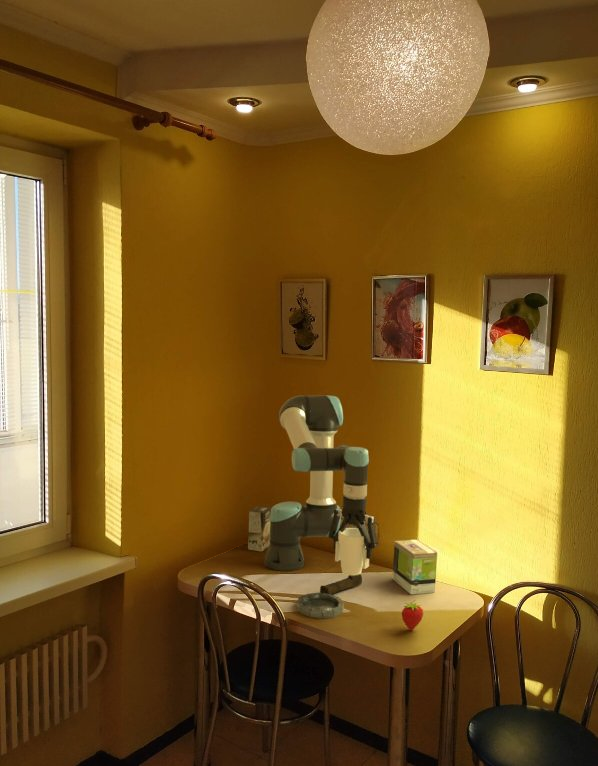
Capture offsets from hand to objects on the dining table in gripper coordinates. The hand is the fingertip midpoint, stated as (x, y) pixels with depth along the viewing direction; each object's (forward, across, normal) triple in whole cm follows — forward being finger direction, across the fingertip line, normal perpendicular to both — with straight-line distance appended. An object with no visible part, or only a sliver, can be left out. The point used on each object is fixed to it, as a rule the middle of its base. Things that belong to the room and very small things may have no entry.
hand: (351, 563), depth 225 cm
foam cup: (+3, 0, 0) cm, 3 cm away
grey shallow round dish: (+16, -9, -4) cm, 19 cm away
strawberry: (+16, +22, -1) cm, 27 cm away
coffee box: (+17, -59, +31) cm, 69 cm away
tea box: (+16, +8, +33) cm, 37 cm away
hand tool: (+17, -11, +14) cm, 24 cm away
